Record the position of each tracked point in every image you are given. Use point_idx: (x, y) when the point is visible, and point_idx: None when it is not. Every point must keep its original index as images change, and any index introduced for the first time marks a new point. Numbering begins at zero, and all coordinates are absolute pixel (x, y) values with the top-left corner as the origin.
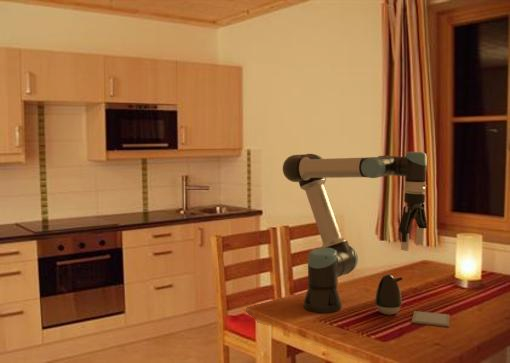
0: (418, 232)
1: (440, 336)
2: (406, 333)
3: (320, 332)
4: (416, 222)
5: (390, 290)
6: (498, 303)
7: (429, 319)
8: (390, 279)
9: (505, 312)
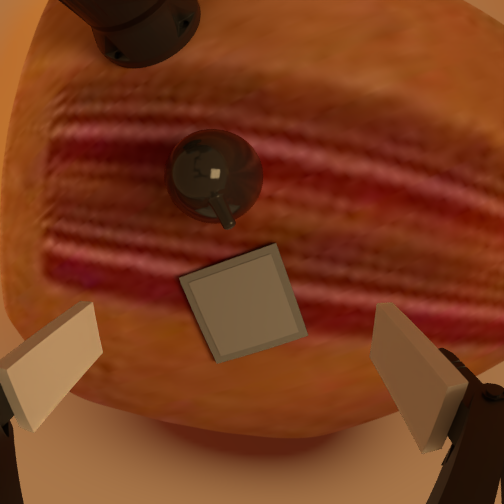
0: (419, 378)
1: (146, 363)
2: (108, 296)
3: (12, 145)
4: (456, 457)
5: (173, 201)
6: None
7: (226, 311)
8: (178, 192)
9: None
